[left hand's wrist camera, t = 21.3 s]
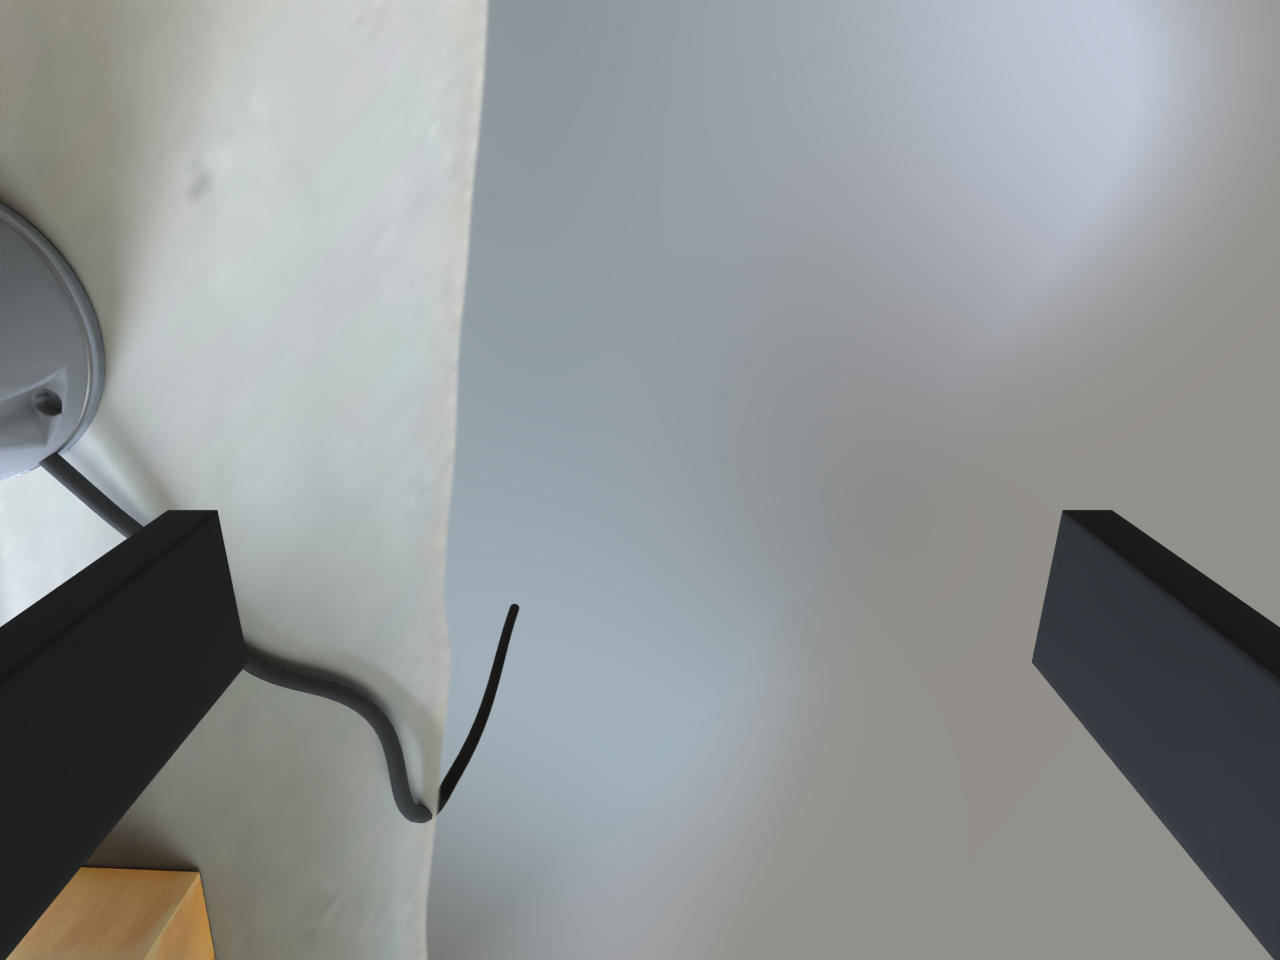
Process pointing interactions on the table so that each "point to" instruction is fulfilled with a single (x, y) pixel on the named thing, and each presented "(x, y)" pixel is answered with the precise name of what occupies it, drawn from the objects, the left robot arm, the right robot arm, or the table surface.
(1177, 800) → the left robot arm
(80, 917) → the bread
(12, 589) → the table surface
